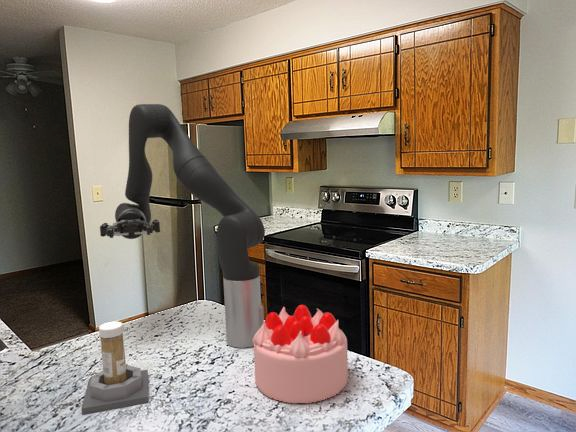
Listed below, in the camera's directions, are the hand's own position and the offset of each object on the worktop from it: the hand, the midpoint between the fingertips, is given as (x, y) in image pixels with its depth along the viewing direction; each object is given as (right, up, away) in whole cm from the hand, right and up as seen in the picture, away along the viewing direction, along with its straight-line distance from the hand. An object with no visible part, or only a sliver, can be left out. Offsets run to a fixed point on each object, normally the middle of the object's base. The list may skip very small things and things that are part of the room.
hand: (129, 232), depth 108 cm
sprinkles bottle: (+3, -31, -16) cm, 35 cm away
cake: (+41, -31, -13) cm, 53 cm away
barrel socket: (+3, -32, -16) cm, 36 cm away
